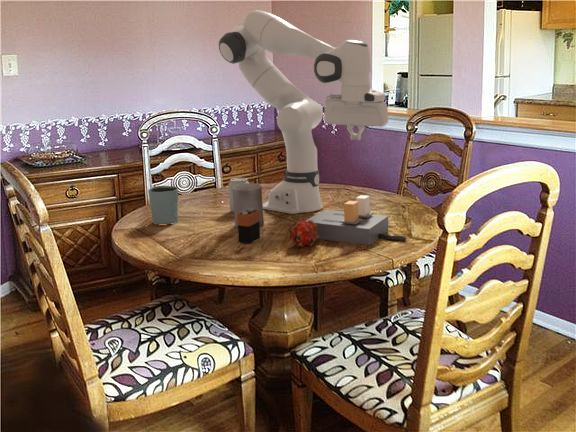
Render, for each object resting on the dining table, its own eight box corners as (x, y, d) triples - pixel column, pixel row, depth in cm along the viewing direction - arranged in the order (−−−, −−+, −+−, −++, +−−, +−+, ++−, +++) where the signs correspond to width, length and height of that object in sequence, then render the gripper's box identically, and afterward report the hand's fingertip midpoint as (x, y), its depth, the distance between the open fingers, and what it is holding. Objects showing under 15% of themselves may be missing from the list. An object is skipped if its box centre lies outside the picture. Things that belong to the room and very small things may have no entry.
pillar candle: (250, 220, 223) (247, 178, 219) (269, 225, 216) (267, 181, 212) (229, 226, 216) (225, 183, 212) (248, 231, 210) (245, 187, 206)
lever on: (352, 216, 202) (352, 197, 201) (358, 212, 207) (358, 194, 205) (367, 218, 200) (367, 199, 199) (373, 214, 204) (373, 195, 203)
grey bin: (145, 222, 224) (142, 189, 221) (168, 216, 232) (166, 184, 228) (163, 227, 218) (159, 193, 215) (186, 221, 225) (183, 187, 222)
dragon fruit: (315, 244, 199) (299, 261, 190) (294, 227, 200) (277, 243, 191) (329, 225, 195) (313, 242, 185) (307, 208, 196) (290, 224, 186)
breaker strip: (304, 236, 202) (303, 221, 201) (326, 223, 215) (325, 209, 214) (397, 248, 187) (397, 231, 186) (414, 233, 201) (414, 218, 199)
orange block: (340, 222, 196) (340, 203, 194) (347, 218, 200) (347, 199, 199) (355, 224, 194) (355, 205, 192) (362, 220, 198) (362, 201, 196)
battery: (260, 238, 202) (259, 207, 199) (249, 244, 196) (248, 212, 194) (249, 236, 204) (247, 206, 201) (237, 242, 198) (236, 211, 196)
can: (242, 214, 231) (240, 181, 228) (226, 212, 235) (224, 180, 232) (254, 209, 237) (252, 177, 234) (238, 207, 241) (236, 176, 238)
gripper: (320, 95, 199) (321, 139, 203) (382, 96, 189) (381, 143, 193) (329, 93, 204) (330, 136, 208) (390, 94, 194) (389, 139, 198)
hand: (355, 139), depth 200 cm, fingers closed
